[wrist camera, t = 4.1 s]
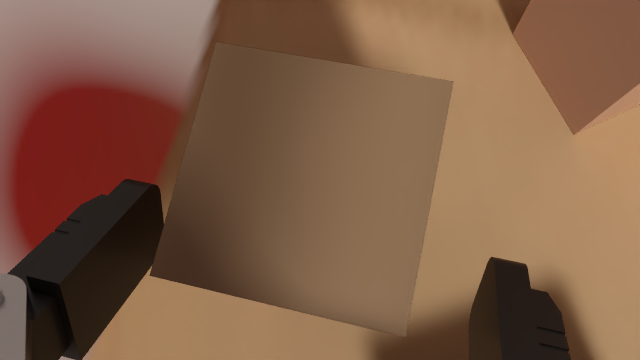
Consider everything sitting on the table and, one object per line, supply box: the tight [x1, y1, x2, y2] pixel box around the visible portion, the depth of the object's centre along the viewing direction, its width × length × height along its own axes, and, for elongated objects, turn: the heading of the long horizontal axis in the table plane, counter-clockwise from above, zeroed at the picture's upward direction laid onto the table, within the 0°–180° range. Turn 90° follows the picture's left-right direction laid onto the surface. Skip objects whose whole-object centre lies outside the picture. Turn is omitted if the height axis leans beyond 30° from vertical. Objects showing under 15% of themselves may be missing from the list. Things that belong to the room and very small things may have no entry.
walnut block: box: [150, 42, 453, 337], centre depth 14 cm, size 4×4×10 cm
